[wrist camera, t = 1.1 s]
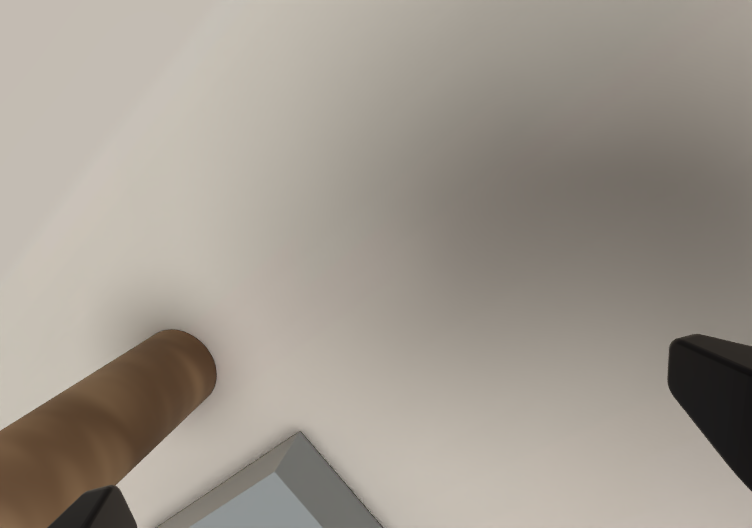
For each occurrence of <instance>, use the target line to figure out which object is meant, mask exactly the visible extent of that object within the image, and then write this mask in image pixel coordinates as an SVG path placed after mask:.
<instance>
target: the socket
mask: <svg viewBox="0 0 752 528" xmlns="http://www.w3.org/2000/svg"><path fill="white" fill-rule="evenodd" d="M157 528H382V526H381V525H380V524H379V523H378V522H377V521H376V519H375V518H374V517H373V516H372V515H371V514H370V512H369V511H368V510H367V509H366V508H365V507H364V505H363V504H362V503H361V502H360V501H359V500H358V498H357V497H356V496H355V495H354V494H353V493H352V491H351V490H350V489H349V488H348V487H347V485H346V484H345V483H344V482H343V481H342V480H341V478H340V477H339V476H338V475H337V474H336V473H335V471H334V470H333V469H332V468H331V467H330V466H329V464H328V463H327V462H326V461H325V460H324V459H323V457H322V456H321V455H320V454H319V453H318V452H317V450H316V449H315V448H314V447H313V446H312V445H311V443H310V442H309V441H308V440H307V439H306V438H305V436H304V435H303V434H302V433H301V432H300V431H299V432H298V433H296V434H295V435H293V436H292V437H290V438H289V439H287V440H286V441H284V442H283V443H281V444H280V445H278V446H277V447H276V448H274V449H273V450H271V451H270V452H268V453H267V454H265V455H264V456H262V457H261V458H259V459H258V460H256V461H255V462H253V463H252V464H250V465H249V466H247V467H246V468H244V469H243V470H241V471H240V472H238V473H237V474H235V475H234V476H232V477H231V478H229V479H228V480H226V481H225V482H224V483H222V484H221V485H219V486H218V487H216V488H215V489H213V490H212V491H210V492H209V493H207V494H206V495H204V496H203V497H201V498H200V499H198V500H197V501H195V502H194V503H192V504H191V505H189V506H188V507H186V508H185V509H183V510H182V511H180V512H179V513H177V514H176V515H174V516H173V517H172V518H170V519H169V520H167V521H166V522H164V523H163V524H161V525H160V526H158V527H157Z"/></svg>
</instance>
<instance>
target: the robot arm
mask: <svg viewBox="0 0 752 528" xmlns="http://www.w3.org/2000/svg"><path fill="white" fill-rule="evenodd" d="M667 379H668V386H669V389H670V391H671V393H672V395H673V396H674V398H675V399H676V400H677V401H678V403H679V404H680V405H681V406H682V408H683V409H684V410H685V411H686V413H687V414H688V415H689V417H690V418H691V419H692V420H693V422H694V423H695V424H696V425H697V427H698V428H699V429H700V430H701V432H702V433H703V434H704V435H705V437H706V438H707V439H708V441H709V442H710V443H711V444H712V446H713V447H714V448H715V449H716V451H717V452H718V453H719V454H720V456H721V457H722V458H723V459H724V461H725V462H726V463H727V464H728V465H729V467H730V468H731V469H732V470H733V471H734V473H735V474H736V475H737V476H738V477H739V478H740V479H741V480H742V482H743V483H744V484H745V485H746V486H747V487H748V488H749V489H750V490H751V491H752V346H748V345H743V344H739V343H735V342H731V341H726V340H722V339H718V338H714V337H709V336H705V335H701V334H693V335H689V336H685V337H681V338H677V339H675V340H673V341H672V342H671V344H670V347H669V361H668V378H667ZM47 528H137V524H136V522H135V519H134V517H133V515H132V513H131V511H130V509H129V507H128V505H127V503H126V501H125V499H124V497H123V495H122V492H121V491H120V489H119V488H118V487H117V486H115V485H107V486H104V487H100V488H96V489H92V490H89V491H86V492H84V493H83V494H82V495H81V496H80V497H79V498H78V499H77V500H76V501H74V502H73V503H72V504H71V505H70V506H69V507H68V508H67V509H66V510H65V511H64V512H63V513H62V514H61V515H60V516H59V517H58V518H57V519H56V520H55V521H54V522H52V523H51V524H50V525H49V526H48V527H47Z"/></svg>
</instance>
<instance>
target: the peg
mask: <svg viewBox="0 0 752 528" xmlns="http://www.w3.org/2000/svg"><path fill="white" fill-rule="evenodd" d="M215 383H216V367H215V363H214V360H213V358H212V356H211V354H210V353H209V351H208V350H207V348H206V347H205V346H204V345H203V344H202V343H201V342H200V341H199V340H198V339H196V338H195V337H193V336H192V335H190V334H188V333H186V332H183V331H179V330H164V331H161V332H159V333H157V334H155V335H153V336H152V337H150V338H148V339H147V340H145V341H144V342H142V343H140V344H139V345H137V346H136V347H134V348H132V349H131V350H129V351H128V352H126V353H124V354H123V355H121V356H120V357H118V358H116V359H115V360H113V361H112V362H110V363H108V364H107V365H105V366H104V367H102V368H100V369H99V370H97V371H96V372H94V373H92V374H91V375H89V376H87V377H86V378H84V379H83V380H81V381H79V382H78V383H76V384H75V385H73V386H71V387H70V388H68V389H67V390H65V391H63V392H62V393H60V394H59V395H57V396H55V397H54V398H52V399H51V400H49V401H47V402H46V403H44V404H43V405H41V406H39V407H38V408H36V409H35V410H33V411H31V412H30V413H28V414H27V415H25V416H23V417H22V418H20V419H19V420H17V421H15V422H14V423H12V424H10V425H9V426H7V427H6V428H4V429H2V430H1V431H0V528H47V527H48V526H49V525H50V524H51V523H52V522H54V521H55V520H56V519H57V518H58V517H59V516H60V515H61V514H62V513H63V512H64V511H65V510H66V509H67V508H68V507H69V506H70V505H71V504H72V503H73V502H74V501H76V500H77V499H78V498H79V497H80V496H81V495H82V494H83V493H84V492H86V491H89V490H92V489H96V488H100V487H104V486H107V485H116V484H117V483H118V482H119V481H121V480H122V479H123V478H124V477H125V476H126V475H127V474H128V473H129V472H130V471H131V470H132V469H133V468H134V467H135V466H136V465H137V464H138V463H139V462H140V461H141V460H142V459H143V458H144V457H146V456H147V455H148V454H149V453H150V452H151V451H152V450H153V449H154V448H155V447H156V446H157V445H158V444H159V443H160V442H161V441H162V440H163V439H164V438H165V437H166V436H167V435H168V434H169V433H171V432H172V431H173V430H174V429H175V428H176V427H177V426H178V425H179V424H180V423H181V422H182V421H183V420H184V419H185V418H186V417H187V416H188V415H189V414H190V413H191V412H192V411H193V410H194V409H196V408H197V407H198V406H199V405H200V404H201V403H202V402H203V401H204V400H205V399H206V398H207V397H208V396H209V395H210V394H211V392H212V391H213V389H214V386H215Z"/></svg>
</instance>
